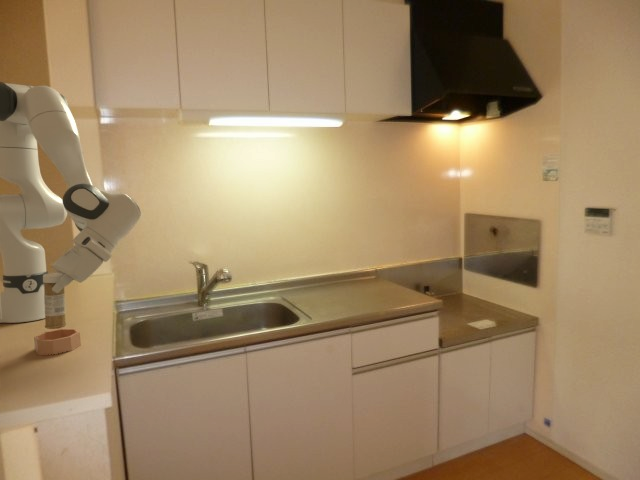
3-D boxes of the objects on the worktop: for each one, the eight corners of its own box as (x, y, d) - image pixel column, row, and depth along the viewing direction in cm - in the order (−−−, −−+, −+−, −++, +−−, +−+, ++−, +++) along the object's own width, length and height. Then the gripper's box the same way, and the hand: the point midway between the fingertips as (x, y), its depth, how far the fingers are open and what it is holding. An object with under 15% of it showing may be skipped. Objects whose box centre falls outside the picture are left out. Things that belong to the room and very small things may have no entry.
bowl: (33, 348, 108) (32, 334, 107) (74, 339, 114) (73, 326, 113) (40, 357, 101) (39, 343, 100) (83, 347, 107) (82, 334, 107)
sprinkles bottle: (63, 323, 110) (61, 271, 109) (68, 327, 107) (66, 274, 105) (42, 326, 107) (40, 273, 105) (47, 330, 103) (45, 276, 102)
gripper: (71, 236, 117) (31, 277, 111) (92, 240, 102) (48, 287, 96) (90, 251, 120) (53, 291, 115) (113, 257, 105) (72, 303, 100)
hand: (51, 289), depth 105 cm, fingers closed on sprinkles bottle, 4 cm apart
